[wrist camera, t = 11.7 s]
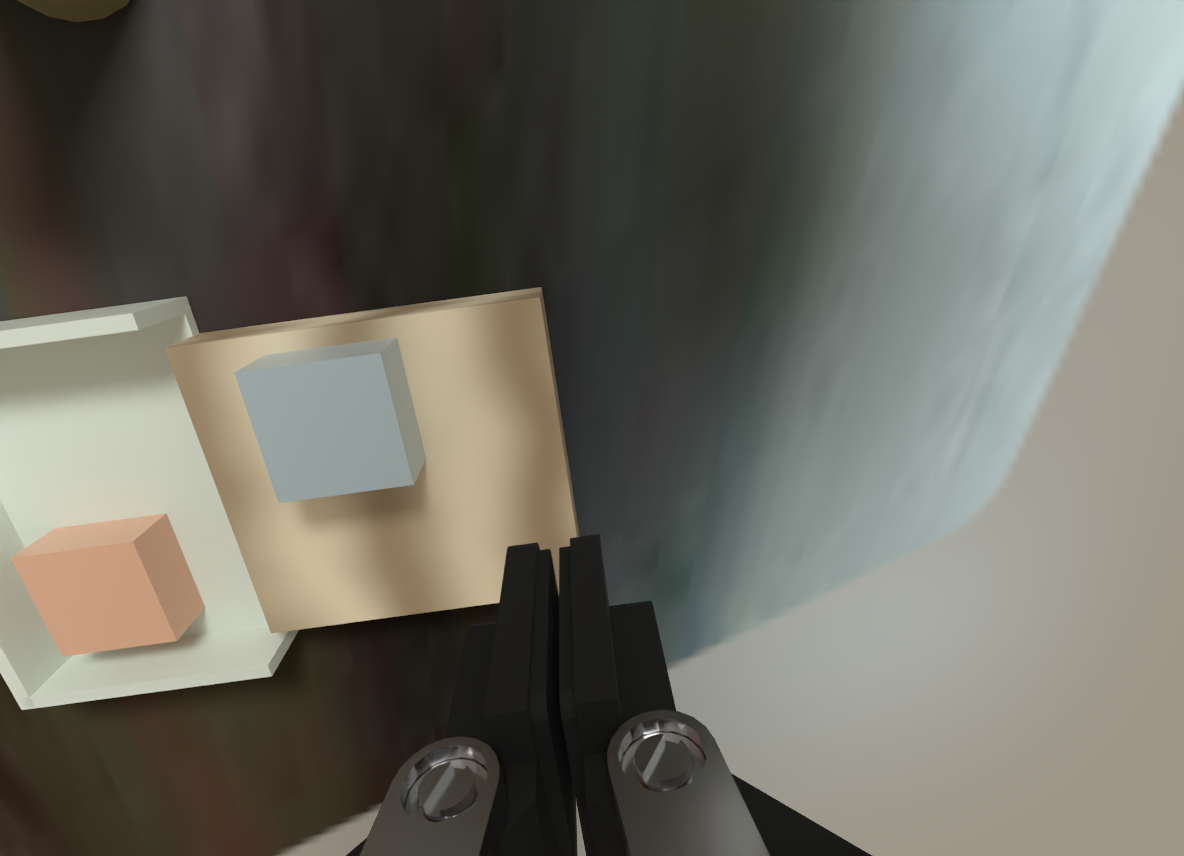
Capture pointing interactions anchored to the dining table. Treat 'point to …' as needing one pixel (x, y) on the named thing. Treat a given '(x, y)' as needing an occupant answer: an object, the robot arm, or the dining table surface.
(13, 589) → the tray
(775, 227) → the dining table surface
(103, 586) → the terracotta tile
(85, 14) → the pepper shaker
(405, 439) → the slate tile
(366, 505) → the birch board
